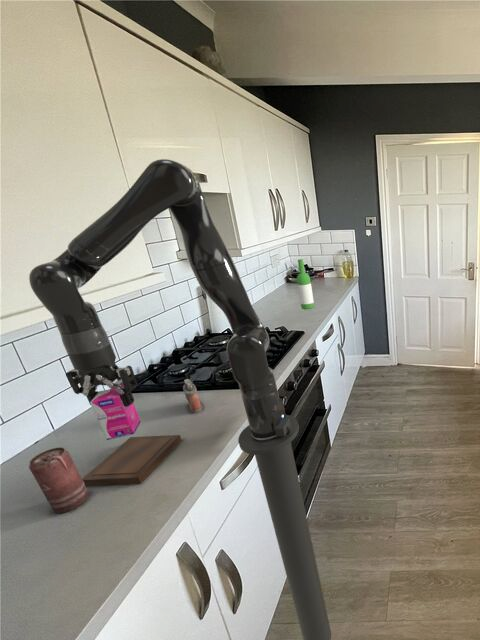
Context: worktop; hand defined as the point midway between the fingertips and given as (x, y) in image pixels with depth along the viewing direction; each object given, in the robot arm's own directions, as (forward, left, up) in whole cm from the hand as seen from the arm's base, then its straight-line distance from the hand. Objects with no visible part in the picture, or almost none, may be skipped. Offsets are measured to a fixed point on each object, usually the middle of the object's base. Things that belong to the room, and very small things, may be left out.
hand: (113, 405), depth 87 cm
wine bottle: (-8, -130, -18) cm, 131 cm away
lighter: (-1, -25, -18) cm, 31 cm away
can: (+5, +13, -18) cm, 23 cm away
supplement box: (0, 0, -8) cm, 8 cm away
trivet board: (0, 0, -18) cm, 18 cm away
